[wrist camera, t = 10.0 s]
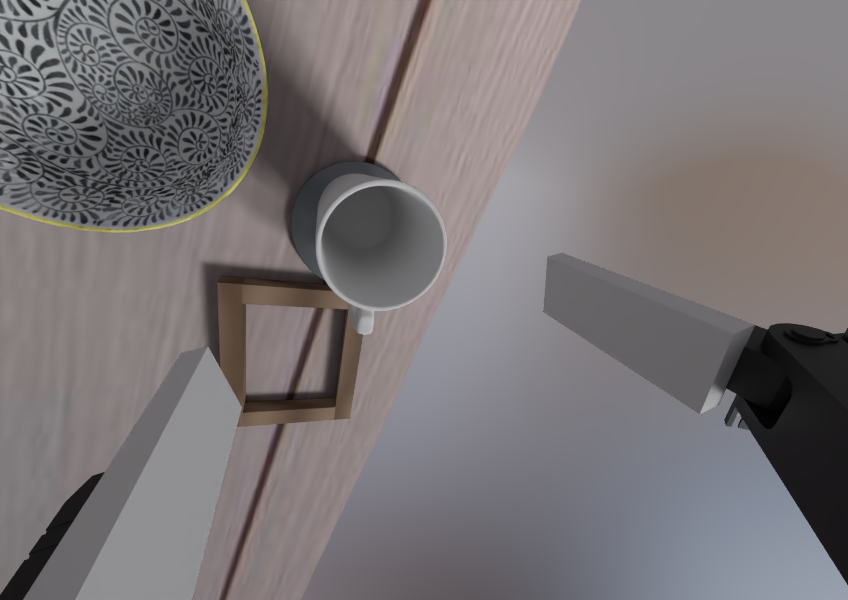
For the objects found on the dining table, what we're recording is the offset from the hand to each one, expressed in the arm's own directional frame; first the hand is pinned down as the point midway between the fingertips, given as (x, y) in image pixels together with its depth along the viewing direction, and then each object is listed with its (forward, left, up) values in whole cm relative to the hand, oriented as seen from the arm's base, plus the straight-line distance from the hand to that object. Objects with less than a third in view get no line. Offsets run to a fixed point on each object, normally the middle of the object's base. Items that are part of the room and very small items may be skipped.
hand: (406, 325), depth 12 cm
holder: (-4, -13, -18) cm, 22 cm away
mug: (0, 0, -17) cm, 17 cm away
